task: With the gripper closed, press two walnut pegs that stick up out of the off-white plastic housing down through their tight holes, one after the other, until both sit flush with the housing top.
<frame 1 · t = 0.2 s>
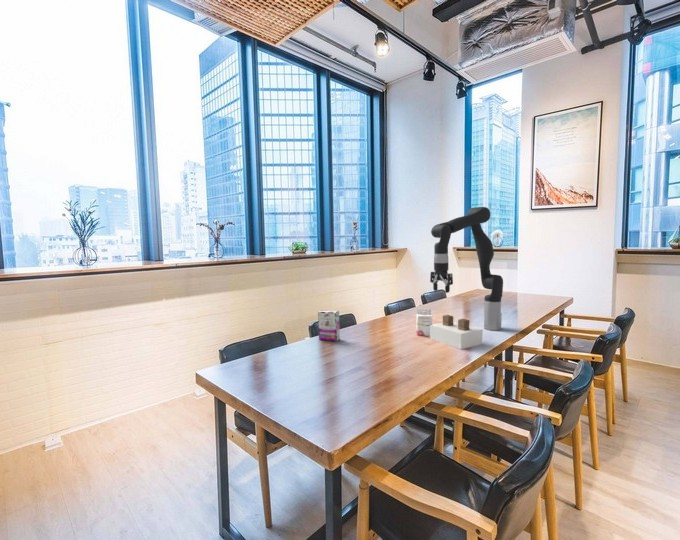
hand: (441, 291, 192), 27 cm above the table, tool pointing down, fingers open, 8 cm apart
housing: (455, 341, 192), on the table
candy bar box: (329, 339, 201), on the table
peg a: (447, 322, 196), point 9 cm above the table, slide at 0.0 cm
ink cartridge box: (424, 335, 206), on the table
peg b: (463, 326, 187), point 9 cm above the table, slide at 0.0 cm
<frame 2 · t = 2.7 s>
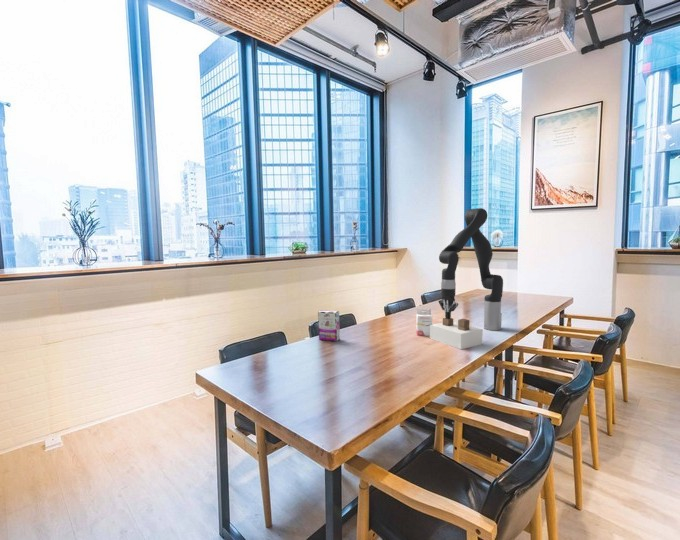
hand: (447, 318, 196), 12 cm above the table, tool pointing down, fingers closed
peg a: (447, 324, 196), point 8 cm above the table, slide at 1.4 cm, touching gripper
everything else where it was.
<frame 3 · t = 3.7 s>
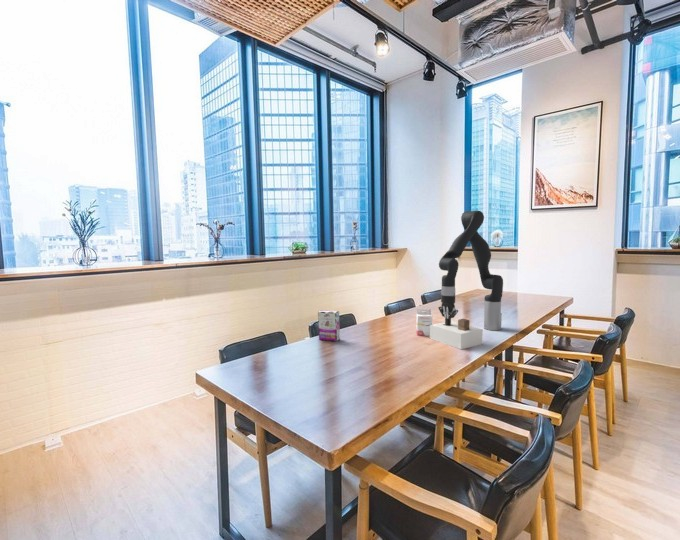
hand: (447, 324, 196), 8 cm above the table, tool pointing down, fingers closed
peg a: (447, 331, 197), point 4 cm above the table, slide at 5.1 cm, touching gripper
everything else where it was.
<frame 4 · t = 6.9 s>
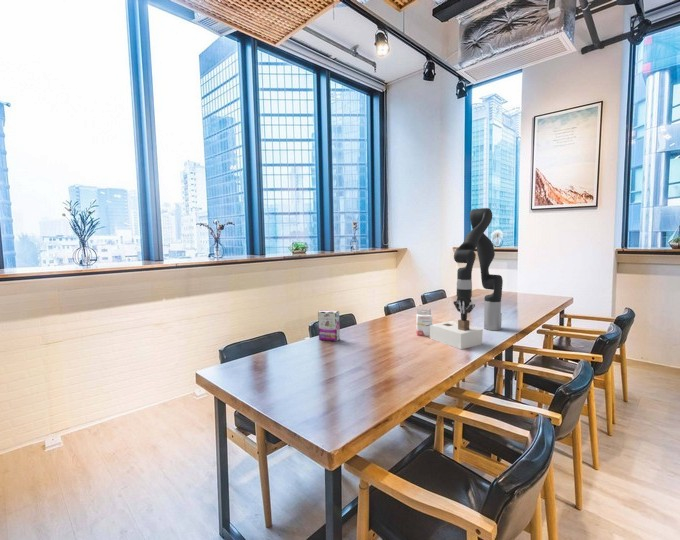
hand: (463, 320, 186), 13 cm above the table, tool pointing down, fingers closed
peg a: (447, 331, 197), point 4 cm above the table, slide at 5.1 cm
peg b: (463, 326, 187), point 9 cm above the table, slide at 0.2 cm, touching gripper
everything else where it was.
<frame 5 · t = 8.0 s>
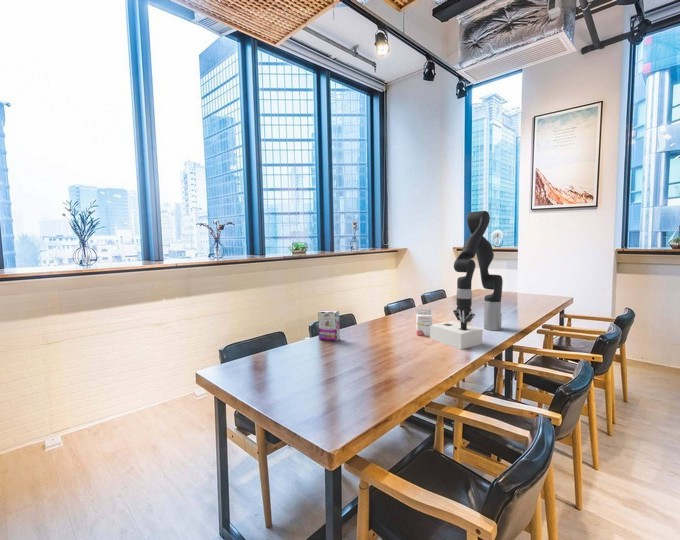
hand: (463, 329, 187), 8 cm above the table, tool pointing down, fingers closed
peg b: (463, 335, 187), point 4 cm above the table, slide at 5.0 cm, touching gripper
everything else where it was.
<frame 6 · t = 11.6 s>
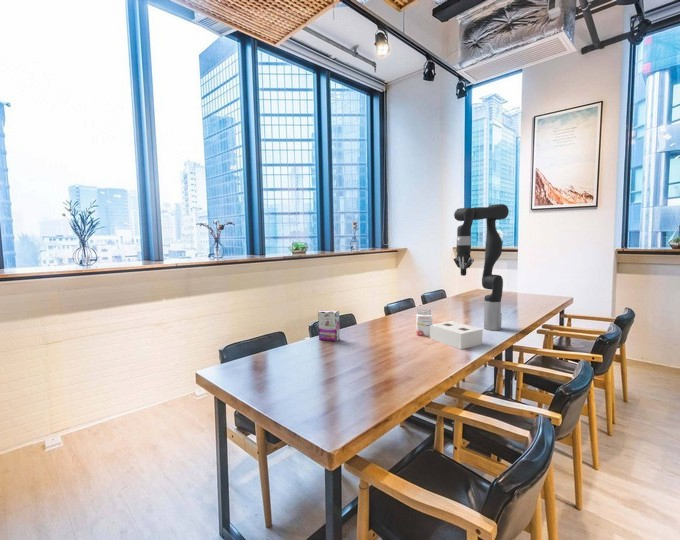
hand: (463, 275, 197), 35 cm above the table, tool pointing down, fingers closed
peg b: (463, 335, 187), point 4 cm above the table, slide at 5.0 cm
everything else where it was.
at the end: peg a slide at 5.1 cm; peg b slide at 5.0 cm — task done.
